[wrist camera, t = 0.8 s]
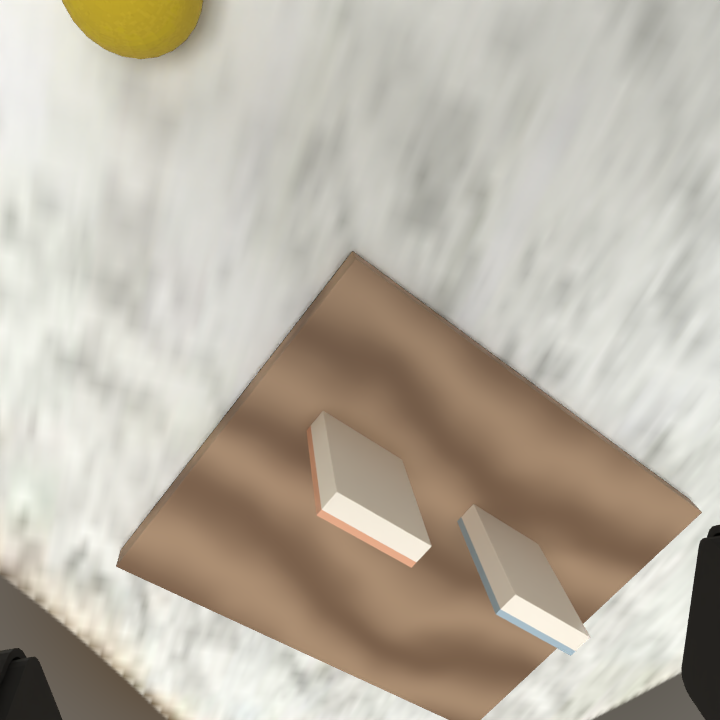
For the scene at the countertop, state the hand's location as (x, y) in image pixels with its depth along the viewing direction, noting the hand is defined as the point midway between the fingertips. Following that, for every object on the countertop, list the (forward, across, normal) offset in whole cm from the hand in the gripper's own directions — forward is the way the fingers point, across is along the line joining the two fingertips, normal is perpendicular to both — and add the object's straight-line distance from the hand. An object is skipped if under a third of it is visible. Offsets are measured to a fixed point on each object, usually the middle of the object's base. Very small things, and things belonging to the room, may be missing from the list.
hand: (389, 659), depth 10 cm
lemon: (+29, +5, -11) cm, 32 cm away
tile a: (+28, -2, +14) cm, 31 cm away
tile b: (+28, -11, +22) cm, 37 cm away
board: (+29, -6, +21) cm, 37 cm away
